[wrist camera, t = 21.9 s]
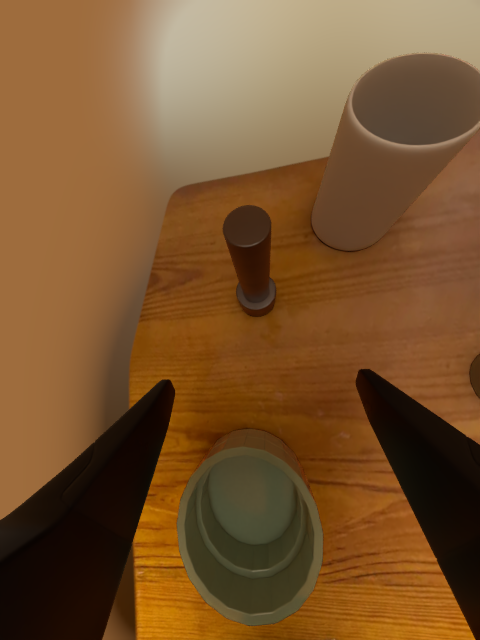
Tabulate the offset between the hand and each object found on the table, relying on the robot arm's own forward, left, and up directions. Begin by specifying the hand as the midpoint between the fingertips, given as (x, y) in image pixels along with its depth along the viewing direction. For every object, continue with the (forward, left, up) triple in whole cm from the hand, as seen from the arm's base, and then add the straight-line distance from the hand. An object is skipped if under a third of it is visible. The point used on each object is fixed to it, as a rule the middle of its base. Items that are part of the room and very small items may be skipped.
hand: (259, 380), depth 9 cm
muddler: (+8, -1, -12) cm, 14 cm away
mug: (+16, -15, -12) cm, 25 cm away
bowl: (-10, +3, -12) cm, 16 cm away
